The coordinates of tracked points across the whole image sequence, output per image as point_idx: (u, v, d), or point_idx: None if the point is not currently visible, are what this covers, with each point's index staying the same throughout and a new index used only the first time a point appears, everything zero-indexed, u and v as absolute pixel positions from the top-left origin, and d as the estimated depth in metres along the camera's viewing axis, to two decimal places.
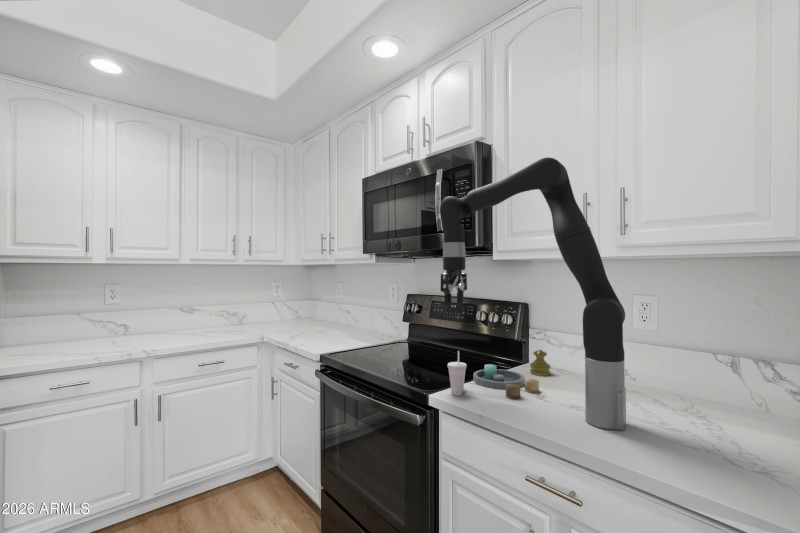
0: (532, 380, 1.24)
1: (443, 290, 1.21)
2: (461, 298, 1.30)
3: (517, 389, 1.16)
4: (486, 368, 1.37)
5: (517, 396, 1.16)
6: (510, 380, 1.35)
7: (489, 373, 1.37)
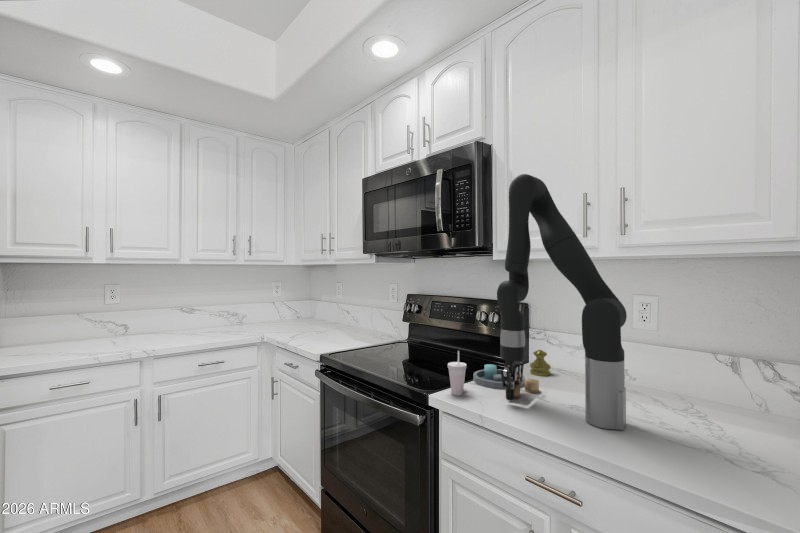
0: (532, 380, 1.24)
1: (506, 386, 1.14)
2: None
3: (517, 389, 1.16)
4: (486, 368, 1.37)
5: (517, 396, 1.16)
6: None
7: (489, 373, 1.37)
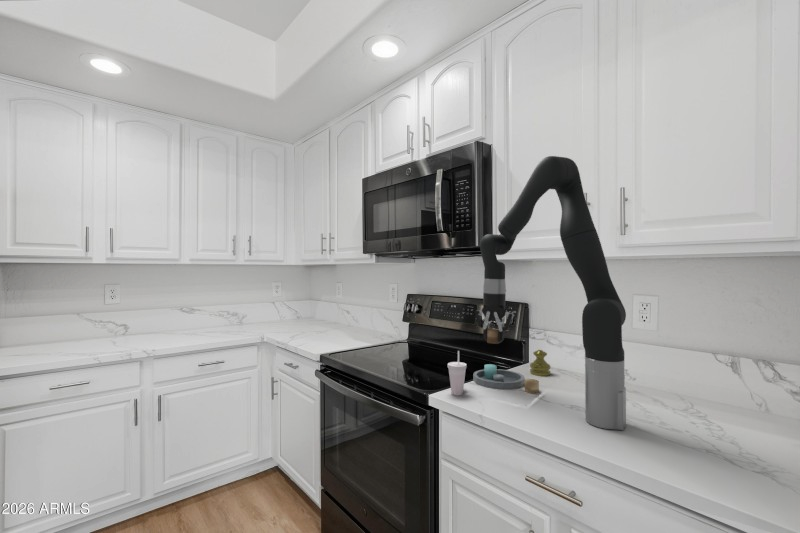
0: (532, 380, 1.24)
1: None
2: None
3: (488, 331, 1.30)
4: (486, 368, 1.37)
5: (488, 337, 1.30)
6: (510, 380, 1.35)
7: (489, 373, 1.37)
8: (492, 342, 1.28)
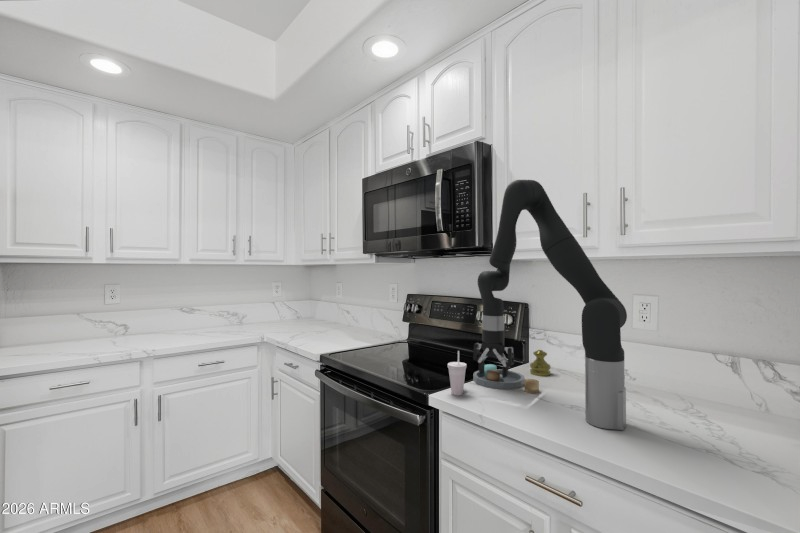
0: (532, 380, 1.24)
1: None
2: None
3: (488, 373, 1.30)
4: (486, 368, 1.37)
5: None
6: (510, 380, 1.35)
7: None
8: None
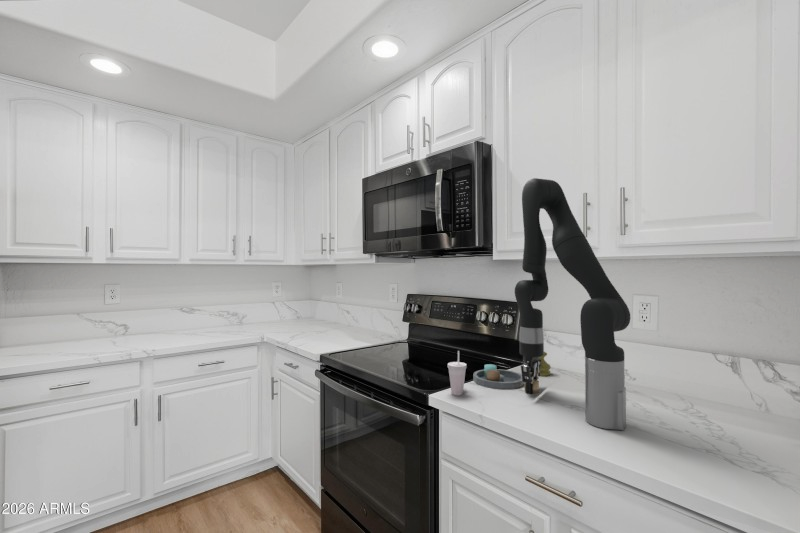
0: None
1: (525, 381, 1.19)
2: None
3: (488, 373, 1.30)
4: (486, 368, 1.37)
5: None
6: (510, 380, 1.35)
7: None
8: None
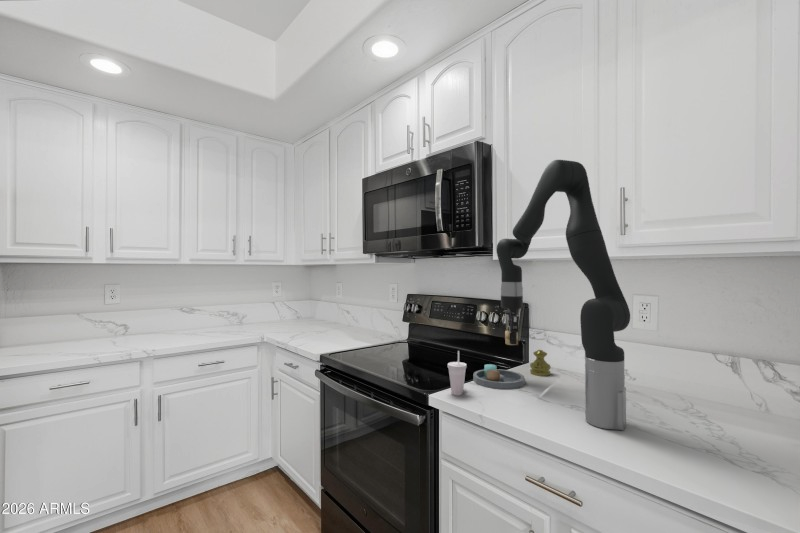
0: None
1: (514, 331, 1.29)
2: None
3: (488, 373, 1.30)
4: (486, 368, 1.37)
5: None
6: (510, 380, 1.35)
7: None
8: None
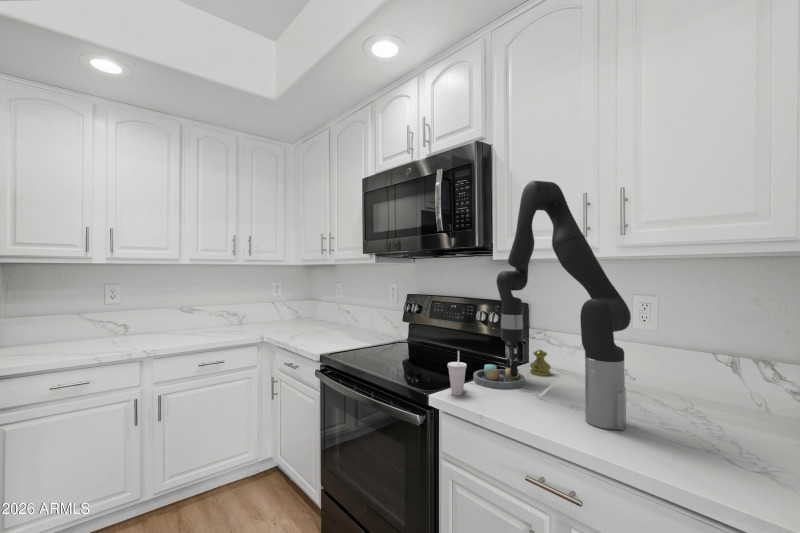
0: None
1: (514, 364, 1.27)
2: None
3: (488, 373, 1.30)
4: (486, 368, 1.37)
5: None
6: None
7: None
8: None
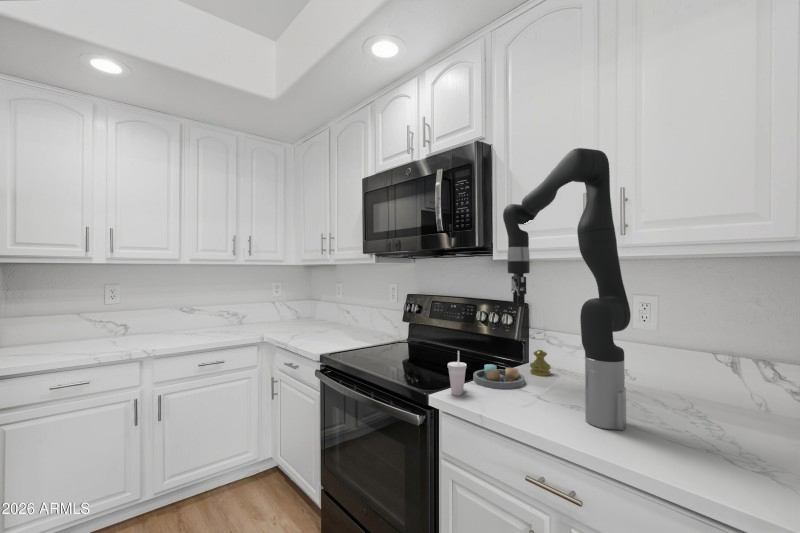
0: (512, 368, 1.34)
1: (522, 292, 1.27)
2: (518, 299, 1.38)
3: (488, 373, 1.30)
4: (486, 368, 1.37)
5: None
6: None
7: None
8: None
